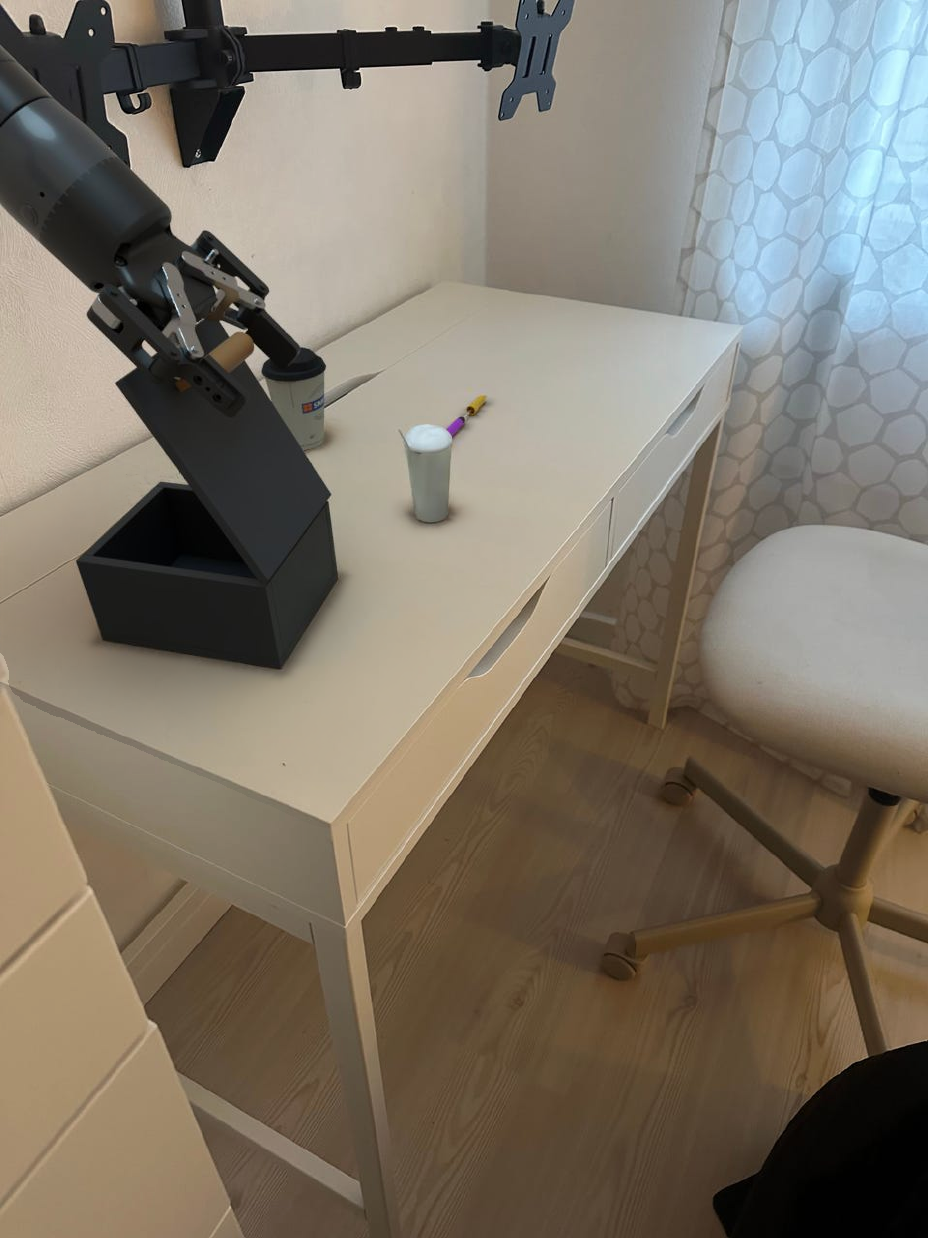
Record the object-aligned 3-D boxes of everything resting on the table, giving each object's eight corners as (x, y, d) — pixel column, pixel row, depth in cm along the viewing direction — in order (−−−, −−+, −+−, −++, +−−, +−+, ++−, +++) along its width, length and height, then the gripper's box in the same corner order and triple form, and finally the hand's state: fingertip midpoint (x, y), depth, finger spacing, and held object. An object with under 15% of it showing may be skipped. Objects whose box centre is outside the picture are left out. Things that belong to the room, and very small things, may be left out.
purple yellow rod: (436, 456, 97) (489, 400, 109) (433, 446, 97) (487, 391, 108) (415, 457, 98) (470, 402, 110) (412, 448, 98) (467, 393, 109)
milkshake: (392, 515, 88) (385, 421, 82) (436, 498, 91) (432, 405, 85) (418, 534, 85) (413, 438, 79) (463, 516, 88) (461, 422, 82)
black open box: (102, 640, 73) (75, 560, 68) (179, 556, 83) (160, 480, 78) (280, 669, 70) (265, 587, 65) (338, 577, 80) (328, 500, 75)
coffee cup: (260, 448, 100) (245, 361, 94) (295, 423, 105) (283, 339, 99) (313, 459, 98) (301, 371, 92) (346, 433, 103) (337, 348, 97)
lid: (114, 383, 58) (167, 353, 55) (206, 316, 68) (255, 288, 65) (260, 583, 65) (313, 564, 63) (324, 497, 75) (372, 478, 73)
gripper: (32, 179, 50) (254, 390, 55) (161, 133, 61) (337, 313, 65) (-17, 271, 54) (193, 460, 59) (112, 213, 65) (280, 376, 70)
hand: (268, 382), depth 62 cm, fingers open, 8 cm apart
